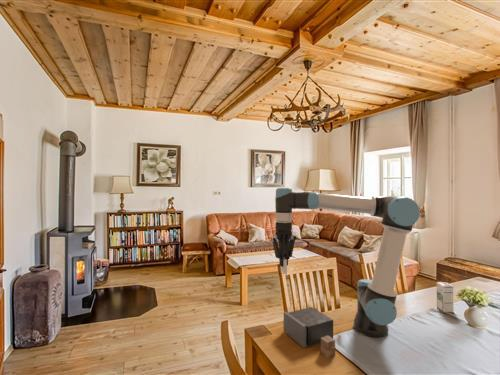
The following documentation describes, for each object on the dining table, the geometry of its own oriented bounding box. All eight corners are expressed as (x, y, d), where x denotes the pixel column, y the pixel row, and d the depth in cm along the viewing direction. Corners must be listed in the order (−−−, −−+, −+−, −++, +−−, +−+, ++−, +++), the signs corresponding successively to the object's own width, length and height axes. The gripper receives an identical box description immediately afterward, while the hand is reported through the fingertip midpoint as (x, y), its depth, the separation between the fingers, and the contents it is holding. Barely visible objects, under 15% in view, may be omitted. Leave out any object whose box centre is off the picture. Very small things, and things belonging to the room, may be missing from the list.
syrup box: (454, 312, 151) (454, 285, 151) (443, 312, 151) (443, 285, 151) (446, 307, 156) (446, 281, 156) (436, 307, 156) (436, 281, 156)
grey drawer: (309, 323, 137) (309, 306, 137) (330, 338, 124) (330, 318, 124) (283, 331, 130) (283, 312, 130) (303, 347, 117) (303, 326, 117)
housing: (311, 324, 138) (311, 306, 138) (333, 338, 124) (333, 319, 124) (288, 330, 131) (288, 312, 131) (308, 346, 118) (308, 326, 118)
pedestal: (328, 349, 116) (328, 335, 116) (335, 355, 112) (335, 340, 112) (320, 352, 114) (320, 337, 114) (327, 357, 110) (327, 342, 110)
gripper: (290, 220, 134) (290, 269, 134) (267, 221, 128) (267, 272, 128) (300, 221, 127) (300, 273, 127) (275, 223, 121) (276, 277, 121)
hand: (283, 273), depth 127 cm, fingers closed
